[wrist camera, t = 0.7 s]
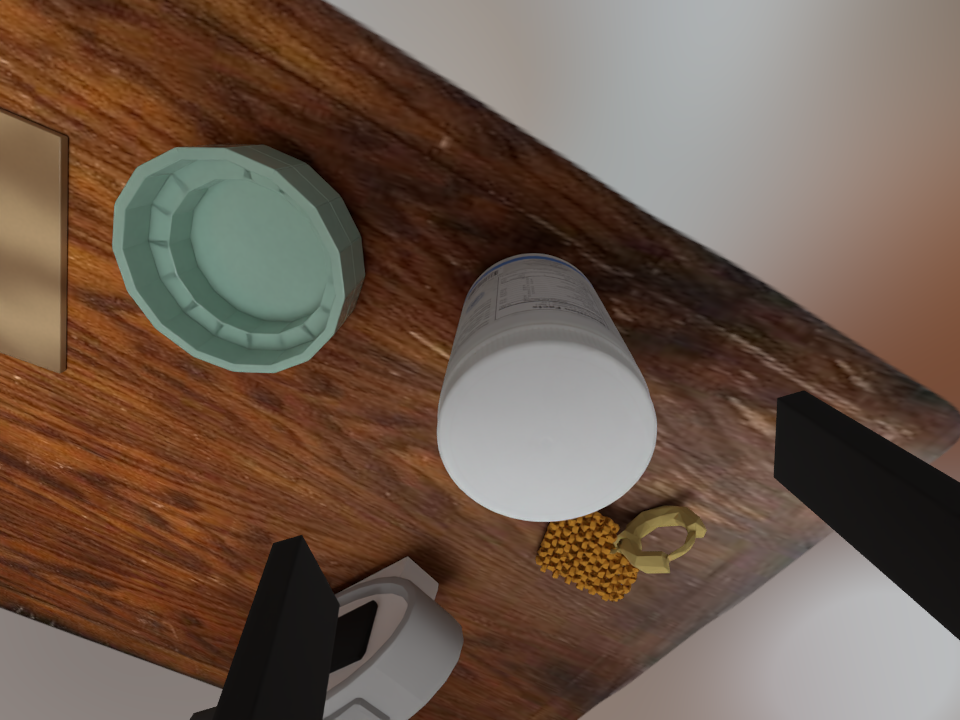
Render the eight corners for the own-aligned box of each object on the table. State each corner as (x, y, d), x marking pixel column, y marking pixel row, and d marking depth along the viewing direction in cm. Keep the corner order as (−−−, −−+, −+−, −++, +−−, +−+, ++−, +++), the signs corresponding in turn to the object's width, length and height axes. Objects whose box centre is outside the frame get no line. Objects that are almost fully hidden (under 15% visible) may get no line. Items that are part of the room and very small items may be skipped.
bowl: (181, 104, 28) (119, 101, 23) (391, 198, 29) (371, 211, 25) (160, 298, 33) (107, 325, 29) (337, 366, 35) (313, 401, 31)
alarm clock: (427, 536, 43) (399, 685, 31) (469, 574, 45) (456, 727, 34) (264, 624, 50) (193, 771, 39) (306, 653, 52) (250, 801, 41)
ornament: (555, 638, 40) (739, 619, 33) (497, 542, 39) (678, 501, 32) (569, 578, 46) (728, 551, 39) (519, 492, 45) (675, 448, 37)
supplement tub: (588, 380, 35) (638, 536, 22) (461, 373, 35) (433, 523, 22) (609, 250, 30) (688, 347, 17) (463, 243, 30) (431, 334, 17)
